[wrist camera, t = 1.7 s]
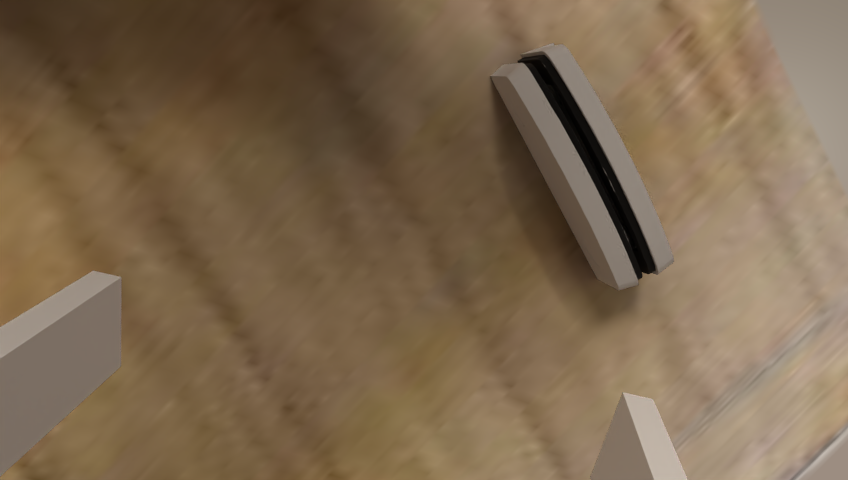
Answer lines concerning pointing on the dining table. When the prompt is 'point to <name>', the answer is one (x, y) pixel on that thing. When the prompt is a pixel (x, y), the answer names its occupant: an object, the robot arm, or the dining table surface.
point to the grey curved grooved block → (584, 165)
